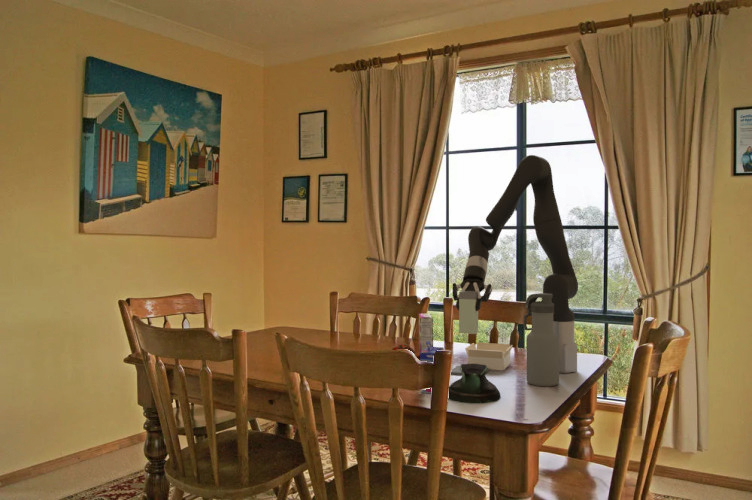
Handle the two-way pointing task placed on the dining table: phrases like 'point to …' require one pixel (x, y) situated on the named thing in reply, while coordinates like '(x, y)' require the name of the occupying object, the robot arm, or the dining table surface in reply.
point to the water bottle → (541, 342)
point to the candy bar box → (425, 330)
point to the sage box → (468, 312)
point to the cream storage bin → (489, 355)
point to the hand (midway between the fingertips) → (467, 309)
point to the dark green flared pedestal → (473, 386)
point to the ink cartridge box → (428, 358)
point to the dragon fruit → (403, 347)
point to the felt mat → (459, 371)
